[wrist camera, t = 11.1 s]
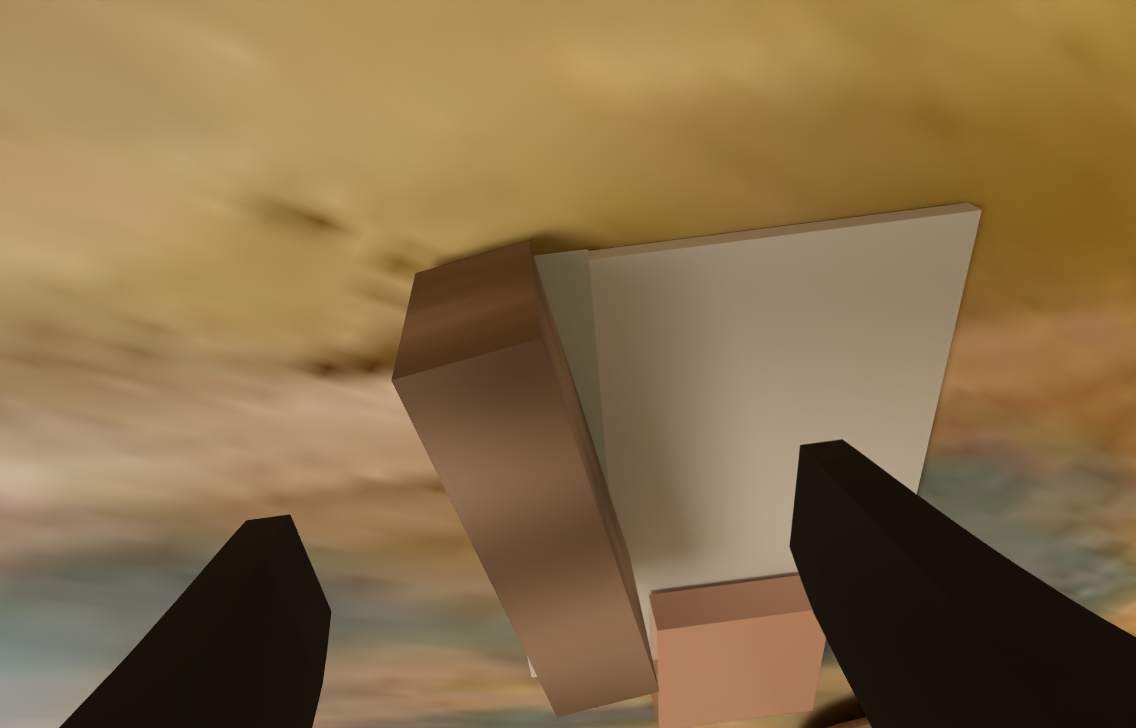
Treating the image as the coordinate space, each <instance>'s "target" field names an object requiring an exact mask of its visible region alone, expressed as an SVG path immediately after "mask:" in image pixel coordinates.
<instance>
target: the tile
mask: <svg viewBox="0 0 1136 728" xmlns="http://www.w3.org/2000/svg"><path fill="white" fill-rule="evenodd" d="M649 628H650V651H651V655H652V660H653V664H654V669H655V673H656V678H657V682H658V687H659V691H660V692H656V693H652V694H651V697H652V701H653V706H654V711H655V716H656V720H657V725H658V728H686V727H694V726H701V725H708V724H715V723H723V722H730V721H737V720H745V719H752V718H759V717H767V716H774V715H781V714H788V713H796V712H803V711H810V710H813V705H814V700H815V694H816V689H817V684H818V678H819V673H820V668H821V662H822V657H823V652H824V646H825V641H826V637H825V635H824V633H823V631H822V629H821V627H820V625H819V623H818V621H817V619H816V617H815V615H814V613H813V610H812V608H811V605H810V602H809V600H808V597H807V595H806V592H805V589H804V587H803V584H802V581H801V578H800V576H799V575H798V576H790V577H782V578H774V579H767V580H759V581H751V582H743V583H736V584H728V585H720V586H713V587H705V588H697V589H689V590H682V591H674V592H666V593H659V594H651V595H649Z"/></svg>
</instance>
